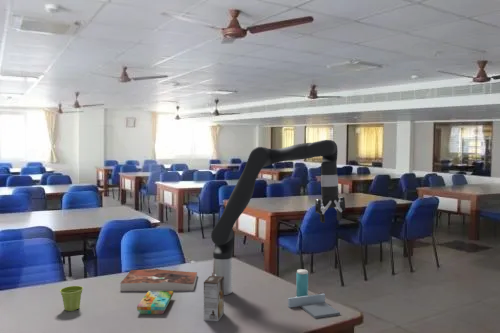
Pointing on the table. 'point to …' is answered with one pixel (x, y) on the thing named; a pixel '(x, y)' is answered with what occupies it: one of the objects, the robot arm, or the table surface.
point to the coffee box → (213, 298)
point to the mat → (320, 310)
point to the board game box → (158, 280)
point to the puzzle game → (154, 302)
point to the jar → (301, 283)
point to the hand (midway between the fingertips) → (331, 221)
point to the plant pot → (71, 297)
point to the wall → (306, 300)
